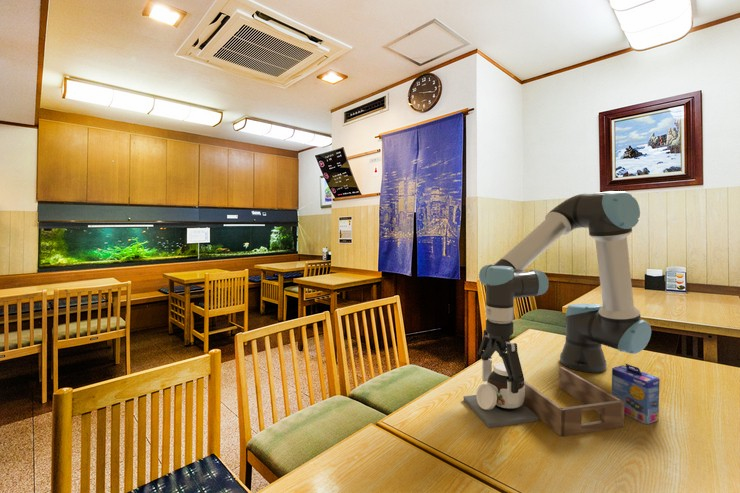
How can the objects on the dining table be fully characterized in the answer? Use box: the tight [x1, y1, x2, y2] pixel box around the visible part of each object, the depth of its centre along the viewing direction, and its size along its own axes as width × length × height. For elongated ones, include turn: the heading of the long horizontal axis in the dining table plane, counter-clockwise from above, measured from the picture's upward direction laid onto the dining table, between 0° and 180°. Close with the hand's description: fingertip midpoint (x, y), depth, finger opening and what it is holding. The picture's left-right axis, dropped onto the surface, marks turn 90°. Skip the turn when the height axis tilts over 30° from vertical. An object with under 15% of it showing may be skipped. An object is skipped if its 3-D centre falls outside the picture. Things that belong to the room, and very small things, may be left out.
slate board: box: [463, 394, 539, 429], centre depth 104 cm, size 15×15×1 cm
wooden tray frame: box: [523, 366, 625, 437], centre depth 103 cm, size 23×19×7 cm
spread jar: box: [475, 361, 525, 411], centre depth 103 cm, size 12×11×12 cm
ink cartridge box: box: [611, 363, 661, 425], centre depth 100 cm, size 10×6×14 cm, turn 23°
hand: (498, 391), depth 103 cm, fingers open, 13 cm apart
